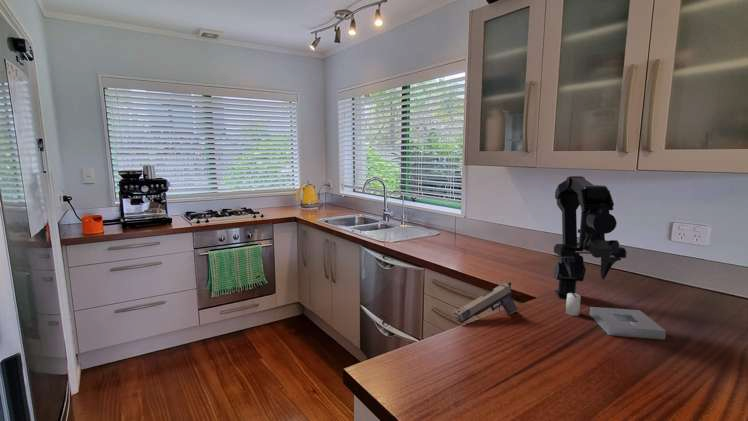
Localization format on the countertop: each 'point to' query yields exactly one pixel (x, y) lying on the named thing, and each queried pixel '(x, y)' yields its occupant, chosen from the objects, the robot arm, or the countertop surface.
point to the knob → (573, 304)
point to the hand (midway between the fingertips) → (587, 278)
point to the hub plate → (627, 323)
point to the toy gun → (488, 303)
